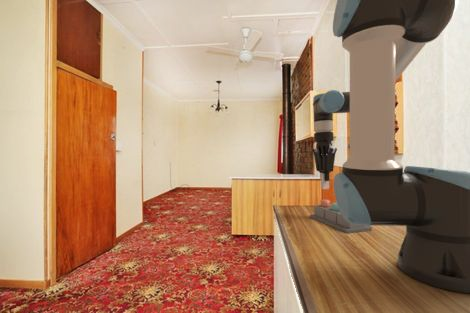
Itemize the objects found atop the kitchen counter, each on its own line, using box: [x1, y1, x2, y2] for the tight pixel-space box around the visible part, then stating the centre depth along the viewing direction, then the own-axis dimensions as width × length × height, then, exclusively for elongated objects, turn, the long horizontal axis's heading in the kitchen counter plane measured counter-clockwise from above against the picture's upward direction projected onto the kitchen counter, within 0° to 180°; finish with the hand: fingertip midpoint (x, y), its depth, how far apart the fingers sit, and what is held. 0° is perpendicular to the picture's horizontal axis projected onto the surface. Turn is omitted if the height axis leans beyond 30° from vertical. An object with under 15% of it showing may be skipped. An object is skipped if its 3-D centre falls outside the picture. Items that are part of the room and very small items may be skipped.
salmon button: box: [320, 199, 331, 208], centre depth 95 cm, size 4×4×4 cm
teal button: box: [331, 202, 340, 212], centre depth 88 cm, size 4×4×4 cm
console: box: [309, 204, 373, 234], centre depth 88 cm, size 22×10×5 cm, turn 15°
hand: (325, 188), depth 95 cm, fingers closed
